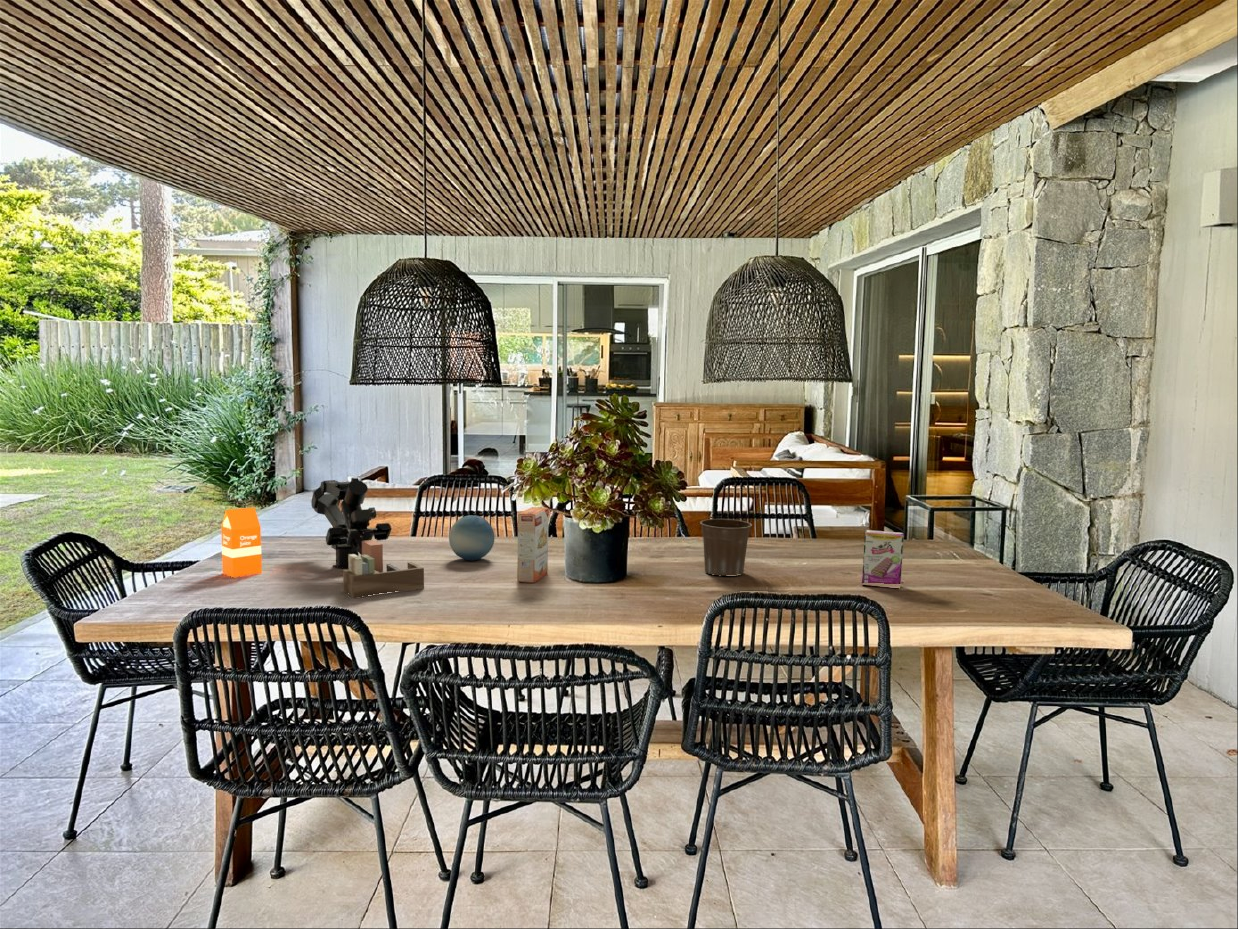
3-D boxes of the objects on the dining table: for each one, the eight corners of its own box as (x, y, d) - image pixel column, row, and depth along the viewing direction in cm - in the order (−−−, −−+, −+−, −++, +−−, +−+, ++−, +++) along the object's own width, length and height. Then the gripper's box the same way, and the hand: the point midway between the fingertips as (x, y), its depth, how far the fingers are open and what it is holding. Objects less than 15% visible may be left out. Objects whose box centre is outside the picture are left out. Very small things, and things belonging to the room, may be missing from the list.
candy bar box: (861, 586, 244) (864, 532, 243) (862, 582, 249) (864, 529, 247) (901, 590, 241) (903, 535, 239) (901, 586, 245) (903, 532, 244)
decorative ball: (474, 566, 263) (474, 520, 262) (439, 561, 270) (439, 516, 269) (503, 558, 276) (503, 514, 274) (469, 553, 283) (469, 510, 282)
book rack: (342, 590, 231) (342, 553, 230) (410, 581, 243) (410, 546, 242) (354, 598, 223) (353, 560, 222) (424, 588, 234) (423, 552, 233)
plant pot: (760, 573, 259) (762, 523, 258) (730, 581, 248) (732, 529, 246) (718, 565, 270) (720, 516, 269) (688, 572, 259) (689, 522, 257)
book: (362, 580, 243) (361, 540, 242) (374, 579, 245) (373, 539, 244) (371, 586, 236) (370, 545, 235) (383, 584, 238) (382, 544, 237)
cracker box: (535, 583, 242) (536, 514, 240) (516, 582, 243) (516, 513, 241) (549, 573, 256) (549, 507, 254) (530, 572, 257) (531, 506, 255)
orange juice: (222, 573, 249) (220, 508, 247) (251, 568, 256) (249, 505, 254) (232, 577, 244) (230, 511, 242) (262, 573, 250) (260, 508, 249)
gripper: (327, 501, 242) (339, 543, 234) (389, 496, 253) (402, 537, 245) (320, 523, 250) (331, 565, 242) (381, 518, 260) (393, 558, 252)
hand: (365, 556), depth 245 cm, fingers closed
